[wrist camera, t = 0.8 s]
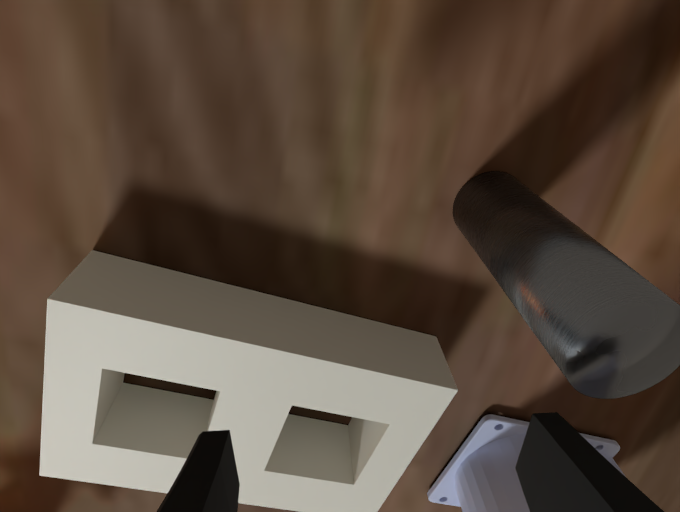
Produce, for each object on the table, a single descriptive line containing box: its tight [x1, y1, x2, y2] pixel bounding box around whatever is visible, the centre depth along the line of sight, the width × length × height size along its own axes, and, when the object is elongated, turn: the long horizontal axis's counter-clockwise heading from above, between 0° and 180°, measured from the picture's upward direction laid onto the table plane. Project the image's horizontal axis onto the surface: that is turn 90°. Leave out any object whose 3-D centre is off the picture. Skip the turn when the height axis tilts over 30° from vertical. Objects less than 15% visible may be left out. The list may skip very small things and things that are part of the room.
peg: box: [453, 171, 680, 399], centre depth 14 cm, size 3×3×9 cm
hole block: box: [39, 250, 458, 512], centre depth 20 cm, size 16×10×4 cm, turn 70°
